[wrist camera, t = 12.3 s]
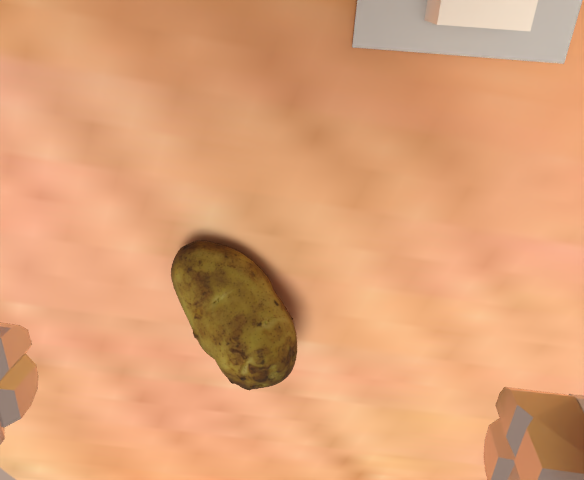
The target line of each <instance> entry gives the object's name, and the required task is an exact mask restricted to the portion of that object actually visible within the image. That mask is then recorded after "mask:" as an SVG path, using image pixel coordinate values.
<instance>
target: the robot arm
mask: <svg viewBox="0 0 584 480" xmlns="http://www.w3.org/2000/svg"><path fill="white" fill-rule="evenodd" d="M31 345H32V343H31V340H30V336H29V332H28V329H26V328H24V327H22V326H20V325H15V324H8V323H2V322H0V444H1V443H2V442H3V440H4V439H5V436H4V427H6V426H8V425H10V424H12V423H14V422H15V421H17V420H19V419H21V418H22V417H23V415H24V414H25V413H26V411H27V410H28V409H29V407H30V406H31V404H32V402H33V399H34V397H35V394H36V391H37V389H38V371H37V366H36V364H35V363H34V362H33V361H32V360H31V359H30V358H29V357H28V356H27V354H26V353H27V351H28V350H29V348H30V347H31ZM496 408H497V411H498V414H499V417H500V418H499V419H498V420H496V421H495V422H493V423H492V424H490V425H489V427H488V431H487V434H486V438H485V444H484V464H485V472H486V476H487V480H584V396H582V395H573V394H569V395H566V394H558V393H550V392H542V391H533V390H525V389H517V388H509V387H504V388H503V390H502V391H501V392H500V394H499V397H498V400H497V402H496Z"/></svg>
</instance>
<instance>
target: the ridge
mask: <svg viewBox="0 0 584 480" xmlns="http://www.w3.org/2000/svg"><path fill="white" fill-rule="evenodd" d="M581 3H582V0H357V8H356V17H355V26H354V36H353V45H352V47H354V48H367V49H380V50H393V51H406V52H419V53H432V54H445V55H458V56H471V57H484V58H497V59H510V60H523V61H536V62H549V63H562V64H564V62H565V59H566V55H567V52H568V48H569V45H570V41H571V38H572V34H573V31H574V28H575V24H576V21H577V17H578V14H579V10H580V7H581Z"/></svg>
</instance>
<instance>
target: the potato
mask: <svg viewBox="0 0 584 480" xmlns="http://www.w3.org/2000/svg"><path fill="white" fill-rule="evenodd" d="M171 277H172V282H173V286H174V289H175V291H176V294H177V296H178V299H179V301H180V303H181V305H182V308H183V310H184V312H185V314H186V316H187V318H188V320H189V323H190V325H191V327H192V329H193V334H194V337H195V338H196V339H197V340H198V342H199V344H200V346H201V347H202V348H203V350H204V351H205V352H206V353H207V354H208V355H210V356H211V357H212V358H214V359H215V360H216V362H217V364H218V366H219V368H220V369H221V371H222V372H223V373H224V375H225V376H226V377H227V378H228V379H229V381H230V382H231V383H232V384H237V385H239V386H240V387H242V388H244V389H247V390H251V389H258V388H264V387H269V386H273V385H276V384H278V383H280V382H281V381H283V380H284V379H285V378H287V376H288V375H289V374H290V373H291V371H292V369H293V367H294V364H295V361H296V355H297V337H296V331H295V328H294V324H293V321H292V317H291V316H290V314H289V312H288V311H287V309H286V308H285V306H284V304H283V303H282V301H281V300H280V298H279V297H278V296H277V295H276V293H275V292H274V290H273V287H272V285H271V282H270V280H269V279H268V277H267V276H266V274H265V273H264V272H263V271H262V270H261V269H260V268H259V267H258V266H257V265H256V264H255V263H254V262H253V261H252V260H250V259H249V258H248V257H246V256H245V255H244V254H242V253H240V252H238V251H237V250H234V249H232V248H230V247H227V246H224V245H220V244H216V243H213V242H208V241H195V242H192V243H190V244H188V245H186V246H183V247H182V248H181V249H180V250H179V251H178V253H177V254H176V256H175V258H174V261H173V264H172V268H171Z"/></svg>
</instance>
